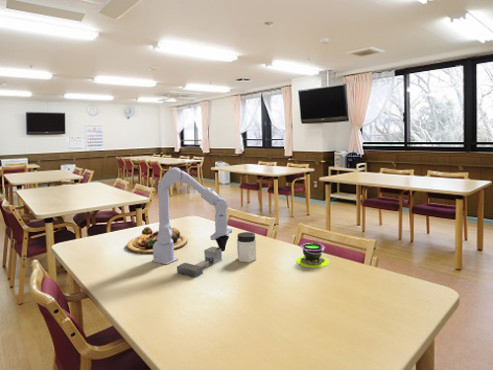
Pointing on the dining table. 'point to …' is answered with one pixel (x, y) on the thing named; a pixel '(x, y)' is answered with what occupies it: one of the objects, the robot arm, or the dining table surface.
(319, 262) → the toy cauldron
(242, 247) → the jar
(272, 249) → the dining table surface
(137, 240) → the wooden plate with food
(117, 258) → the dining table surface
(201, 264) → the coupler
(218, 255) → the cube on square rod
